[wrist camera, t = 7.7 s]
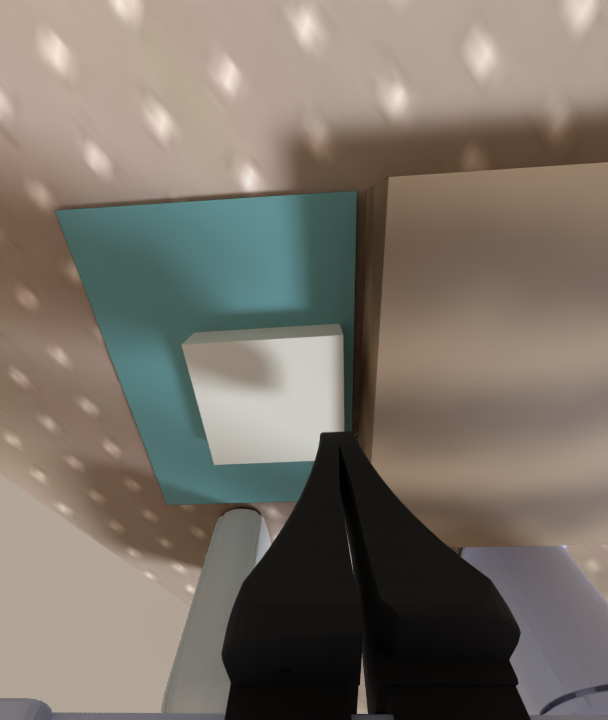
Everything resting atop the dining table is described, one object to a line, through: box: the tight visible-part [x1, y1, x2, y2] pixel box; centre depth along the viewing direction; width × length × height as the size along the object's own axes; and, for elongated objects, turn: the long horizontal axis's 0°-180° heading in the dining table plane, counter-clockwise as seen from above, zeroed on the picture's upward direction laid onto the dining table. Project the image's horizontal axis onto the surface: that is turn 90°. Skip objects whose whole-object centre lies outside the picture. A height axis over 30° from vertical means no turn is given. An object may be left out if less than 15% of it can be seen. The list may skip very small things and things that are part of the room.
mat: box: [55, 191, 357, 505], centre depth 17 cm, size 20×14×1 cm
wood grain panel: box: [358, 162, 608, 548], centre depth 15 cm, size 20×16×4 cm
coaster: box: [182, 324, 344, 465], centre depth 16 cm, size 8×8×2 cm
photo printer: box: [161, 509, 271, 713], centre depth 19 cm, size 10×4×12 cm, turn 3°
